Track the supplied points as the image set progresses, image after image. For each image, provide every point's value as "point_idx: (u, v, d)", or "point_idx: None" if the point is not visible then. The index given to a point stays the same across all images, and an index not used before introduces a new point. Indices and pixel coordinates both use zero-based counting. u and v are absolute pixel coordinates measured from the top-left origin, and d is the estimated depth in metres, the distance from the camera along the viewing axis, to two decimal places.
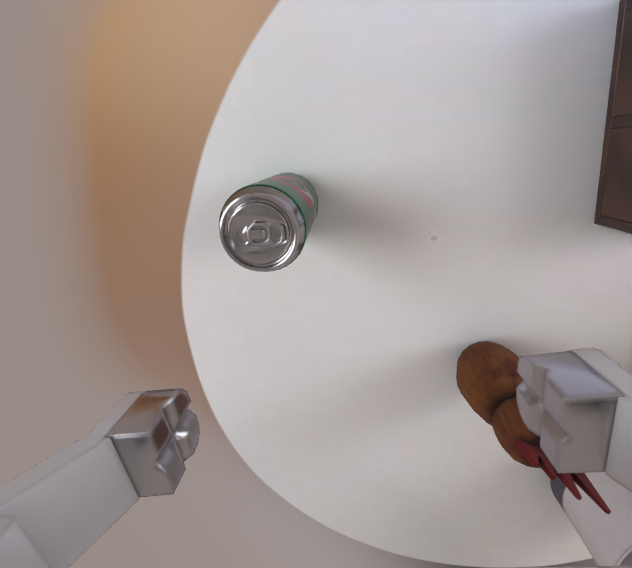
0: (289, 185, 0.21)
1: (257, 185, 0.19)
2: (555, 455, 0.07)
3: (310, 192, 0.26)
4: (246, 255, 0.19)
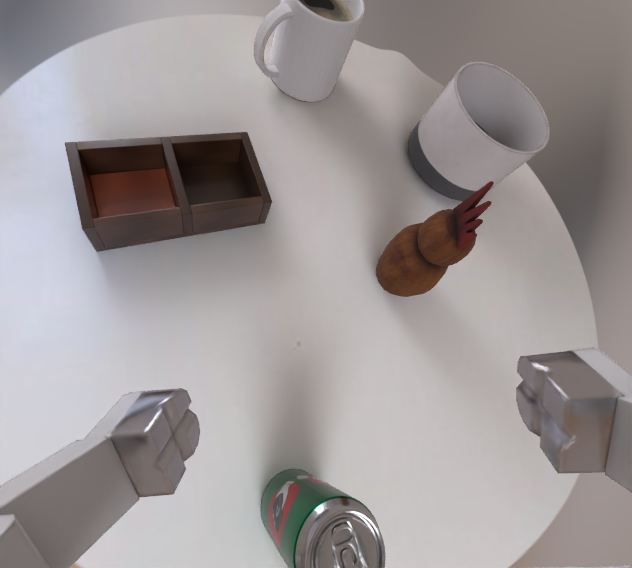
0: (283, 522, 0.20)
1: None
2: (555, 454, 0.07)
3: (280, 486, 0.25)
4: (371, 566, 0.17)
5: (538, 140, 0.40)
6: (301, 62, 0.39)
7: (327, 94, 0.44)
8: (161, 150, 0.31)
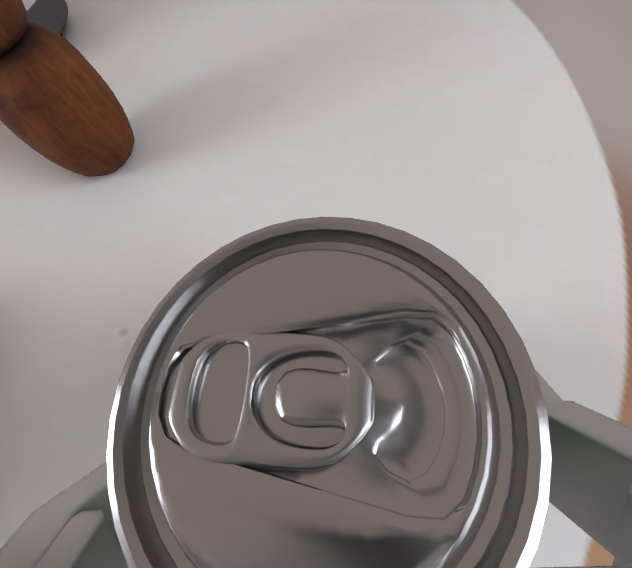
0: None
1: None
2: None
3: None
4: (389, 288, 0.04)
5: None
6: None
7: None
8: None
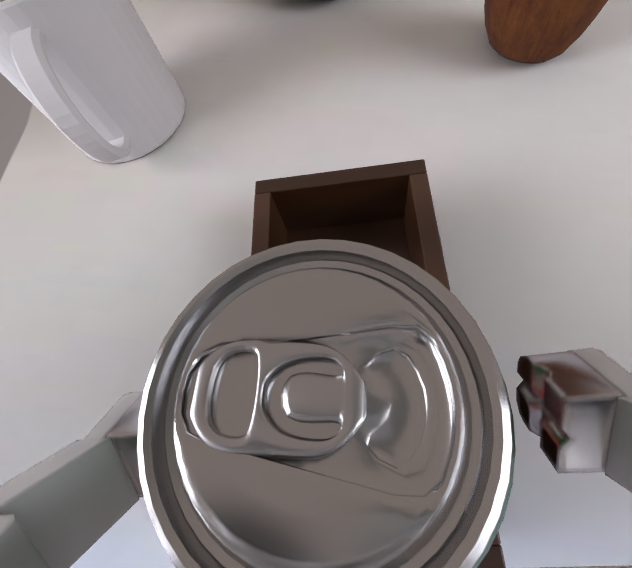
0: None
1: None
2: (555, 454, 0.07)
3: None
4: (378, 303, 0.04)
5: None
6: (127, 77, 0.21)
7: None
8: None
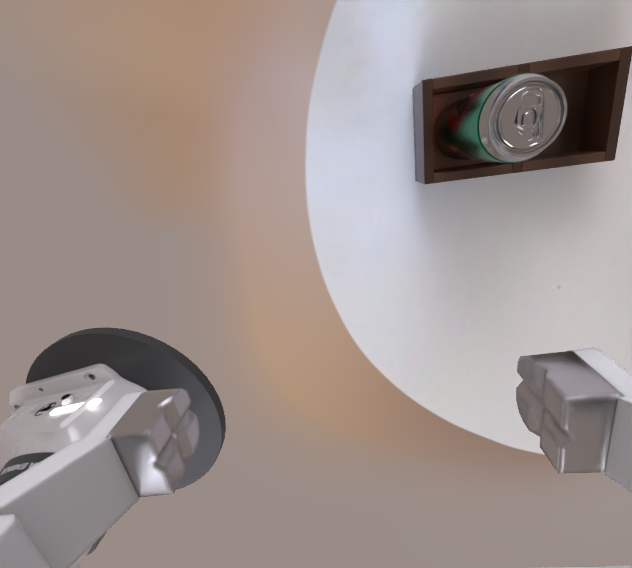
0: (470, 103, 0.24)
1: (478, 121, 0.21)
2: (555, 454, 0.07)
3: (465, 97, 0.27)
4: (546, 131, 0.20)
5: None
6: None
7: None
8: None
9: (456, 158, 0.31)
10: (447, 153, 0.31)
